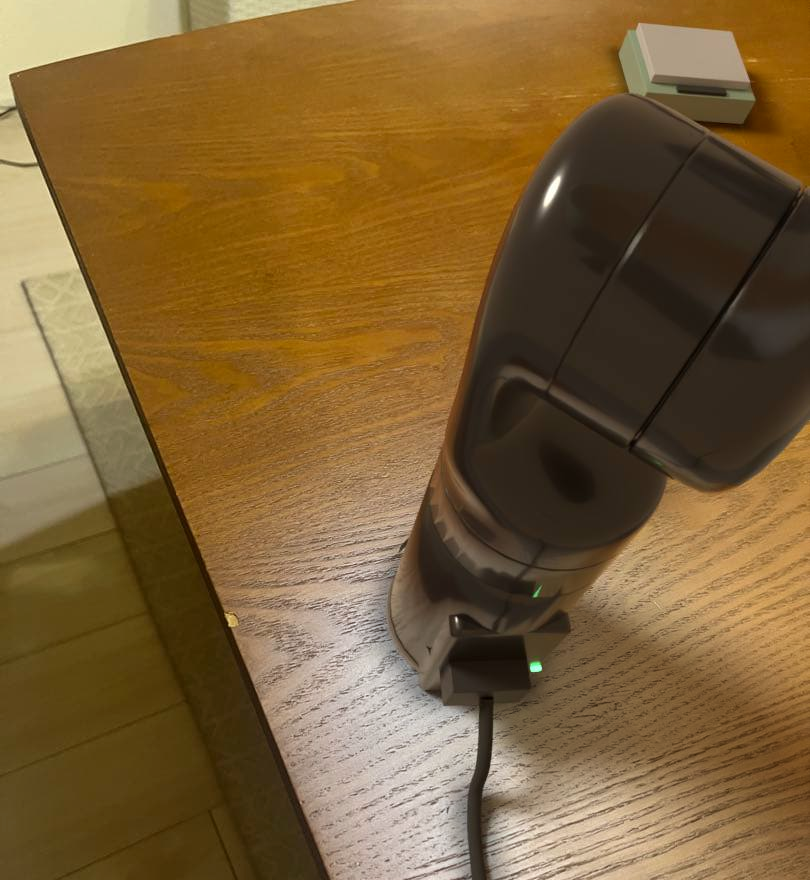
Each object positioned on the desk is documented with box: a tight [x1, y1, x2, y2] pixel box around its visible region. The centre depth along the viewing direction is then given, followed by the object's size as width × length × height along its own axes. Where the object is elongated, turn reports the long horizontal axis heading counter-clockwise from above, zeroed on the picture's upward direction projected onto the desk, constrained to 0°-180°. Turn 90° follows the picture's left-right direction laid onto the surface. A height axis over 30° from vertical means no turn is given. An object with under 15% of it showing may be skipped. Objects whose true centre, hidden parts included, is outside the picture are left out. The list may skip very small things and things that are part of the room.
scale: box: [618, 22, 756, 125], centre depth 77 cm, size 8×10×3 cm
